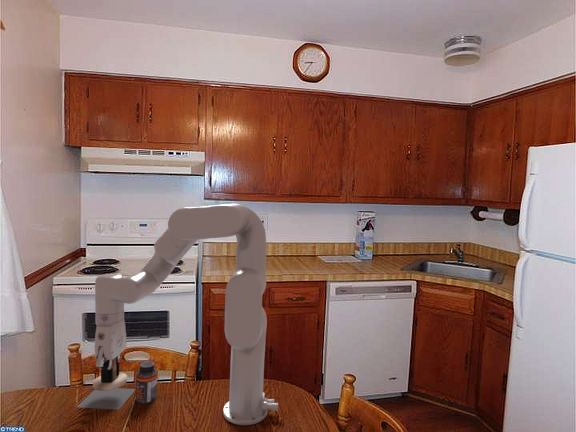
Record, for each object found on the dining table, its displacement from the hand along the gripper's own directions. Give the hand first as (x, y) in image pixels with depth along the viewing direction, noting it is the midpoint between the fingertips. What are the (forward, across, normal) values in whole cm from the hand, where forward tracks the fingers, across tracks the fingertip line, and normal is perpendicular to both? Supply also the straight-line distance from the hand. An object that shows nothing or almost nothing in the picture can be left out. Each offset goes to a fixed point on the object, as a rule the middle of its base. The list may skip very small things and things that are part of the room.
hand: (110, 378), depth 107 cm
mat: (+7, 0, +1) cm, 7 cm away
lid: (+1, 0, 0) cm, 1 cm away
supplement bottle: (+7, +1, -10) cm, 13 cm away
